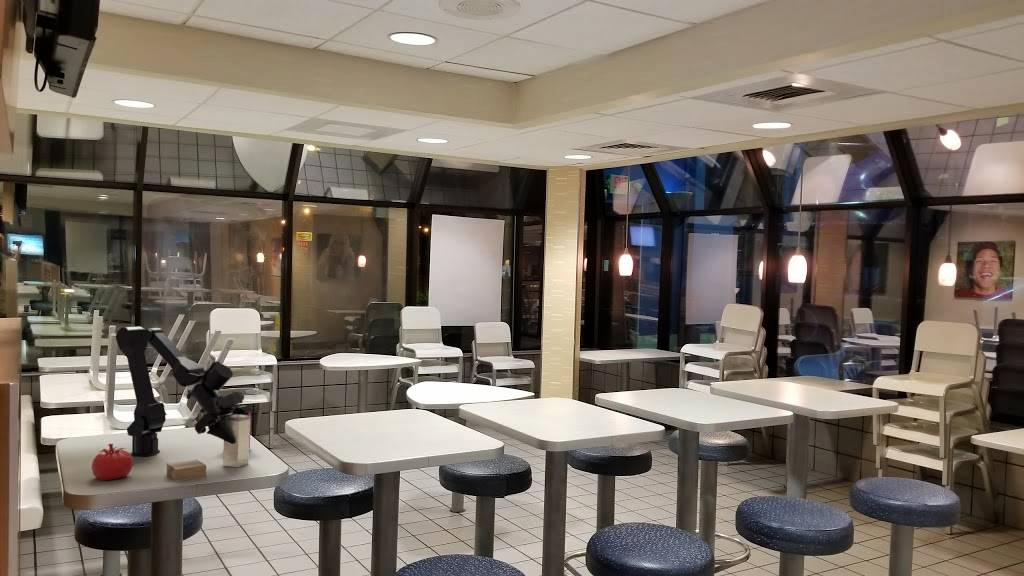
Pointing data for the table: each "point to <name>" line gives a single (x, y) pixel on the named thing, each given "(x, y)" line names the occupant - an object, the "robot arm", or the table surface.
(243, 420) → the white tall block
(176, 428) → the table surface
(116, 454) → the red tomato
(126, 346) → the robot arm
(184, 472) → the walnut block
